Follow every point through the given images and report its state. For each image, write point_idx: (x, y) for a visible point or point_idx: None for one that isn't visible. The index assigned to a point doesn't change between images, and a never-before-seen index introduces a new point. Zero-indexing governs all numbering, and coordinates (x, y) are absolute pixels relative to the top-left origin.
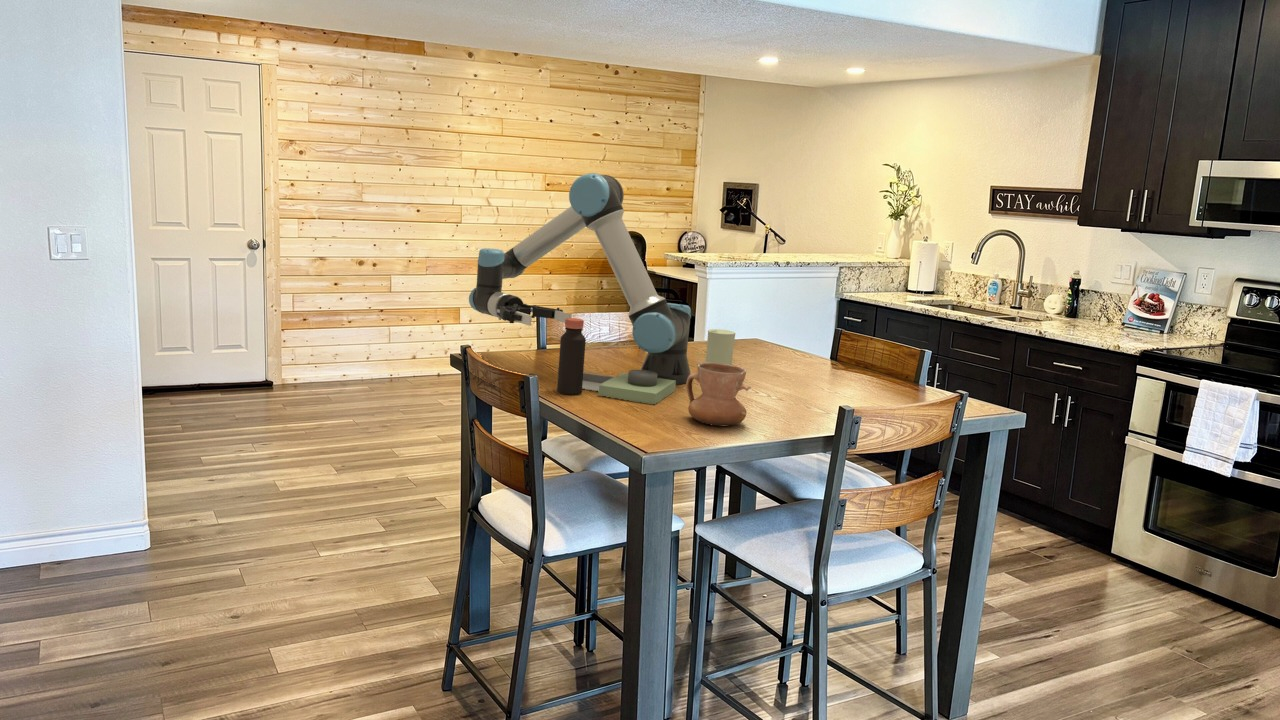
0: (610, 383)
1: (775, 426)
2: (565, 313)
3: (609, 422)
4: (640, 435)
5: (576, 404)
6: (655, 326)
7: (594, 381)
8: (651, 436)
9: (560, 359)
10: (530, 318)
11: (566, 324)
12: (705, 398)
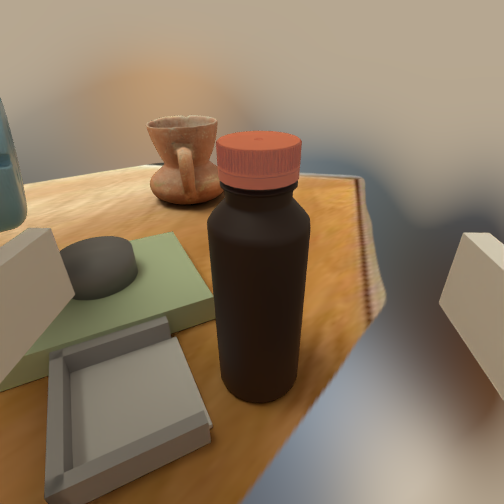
0: (170, 297)
1: (148, 180)
2: (17, 254)
3: (329, 226)
4: (325, 197)
5: (318, 292)
6: (8, 131)
7: (71, 424)
8: (314, 194)
9: (303, 296)
10: (466, 255)
11: (299, 163)
12: (209, 165)
